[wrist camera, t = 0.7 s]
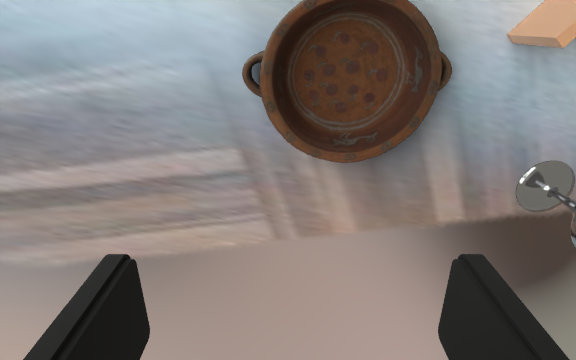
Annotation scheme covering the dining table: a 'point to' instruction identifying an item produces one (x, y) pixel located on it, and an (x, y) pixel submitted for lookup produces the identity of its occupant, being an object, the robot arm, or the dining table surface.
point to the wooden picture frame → (547, 25)
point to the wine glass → (548, 189)
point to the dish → (349, 76)
